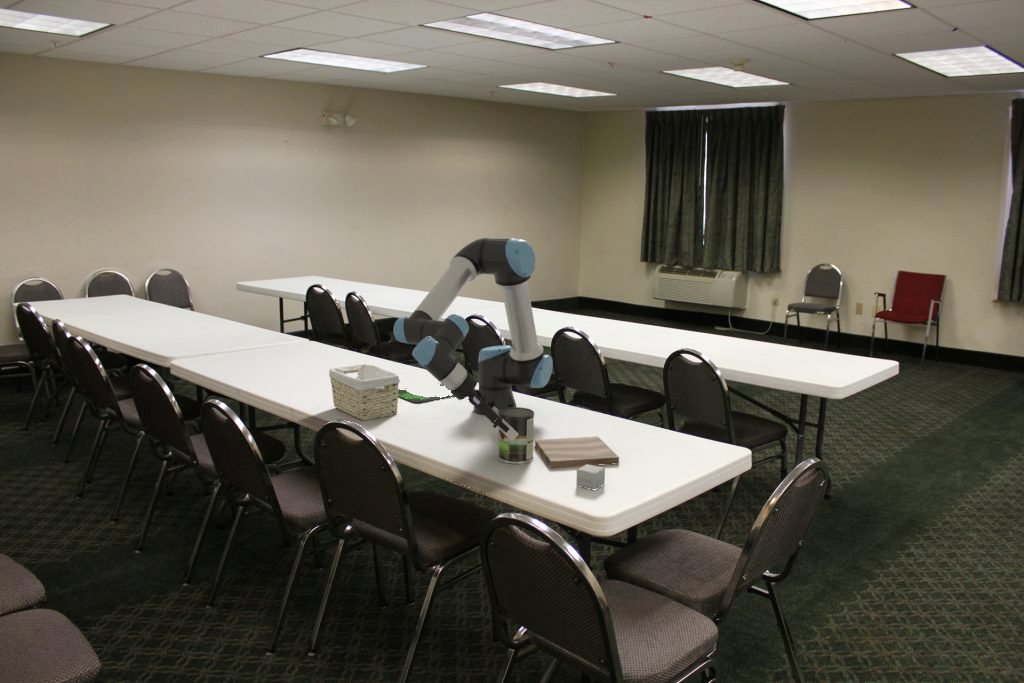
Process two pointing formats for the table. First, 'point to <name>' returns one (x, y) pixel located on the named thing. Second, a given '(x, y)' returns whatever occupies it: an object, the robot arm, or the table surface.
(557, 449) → the walnut board
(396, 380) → the storage basket
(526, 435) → the coffee can
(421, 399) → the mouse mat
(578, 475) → the small box
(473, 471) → the table surface
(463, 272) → the robot arm
